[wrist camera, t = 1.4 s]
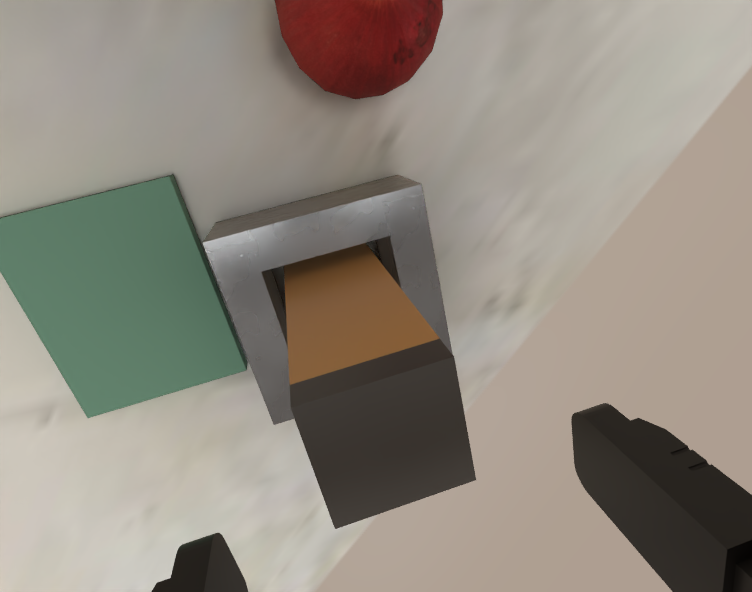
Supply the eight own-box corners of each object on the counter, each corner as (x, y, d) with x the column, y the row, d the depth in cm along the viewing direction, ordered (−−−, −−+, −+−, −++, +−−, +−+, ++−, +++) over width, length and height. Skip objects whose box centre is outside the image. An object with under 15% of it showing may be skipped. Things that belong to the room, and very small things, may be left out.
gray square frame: (215, 222, 21) (202, 242, 17) (397, 174, 22) (421, 183, 18) (274, 380, 24) (273, 424, 21) (428, 332, 25) (454, 367, 22)
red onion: (401, -58, 18) (482, -181, 11) (416, 92, 21) (493, 72, 13) (261, -43, 18) (250, -165, 10) (293, 112, 20) (302, 101, 13)
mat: (-16, 221, 19) (-28, 225, 18) (173, 174, 20) (169, 176, 19) (93, 408, 23) (87, 418, 22) (247, 362, 24) (246, 370, 23)
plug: (283, 257, 22) (290, 407, 10) (360, 236, 22) (453, 356, 11) (305, 327, 24) (335, 529, 12) (377, 306, 24) (476, 479, 12)
